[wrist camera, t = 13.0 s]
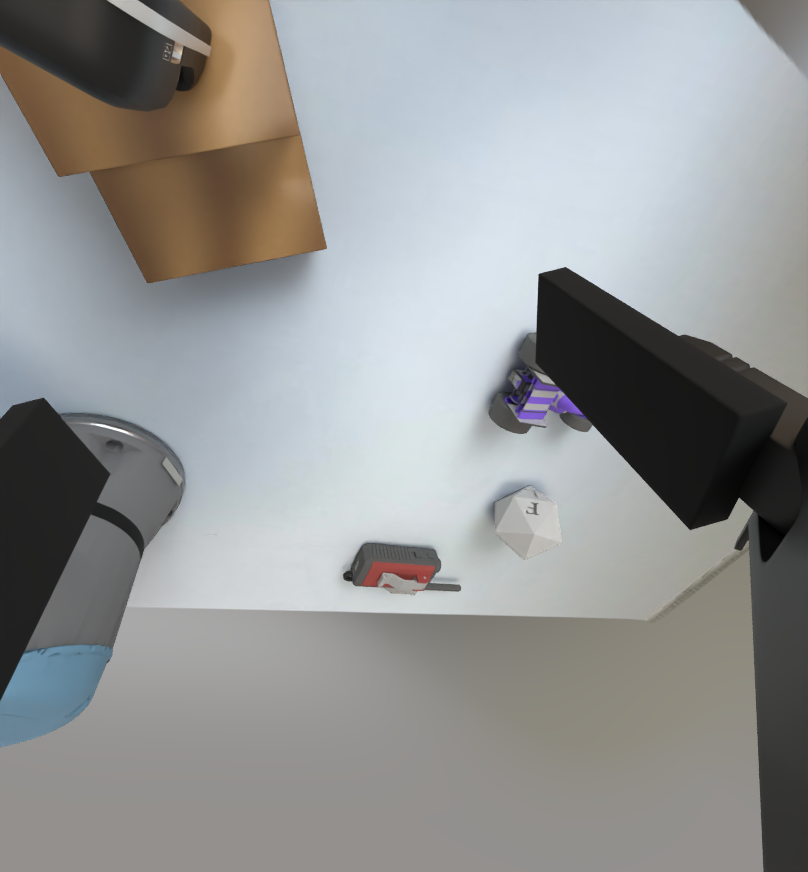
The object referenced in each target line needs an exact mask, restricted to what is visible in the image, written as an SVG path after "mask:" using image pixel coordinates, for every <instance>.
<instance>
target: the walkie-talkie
mask: <svg viewBox="0 0 808 872" xmlns="http://www.w3.org/2000/svg"><path fill="white" fill-rule="evenodd" d="M440 569H441V561H440V559H439V558H438V557H437V553H436V551H435V550H434V549H425V548H414V547H402V546H391V545H380V544H369V543H368V544H366V545H364V546H362V548H361V550H360V552H359V554H358V556H357V558H356V560H355V562H354V564H353V566H352V568H351V571H346V572H345V573H344V574H343V577H344V580H346V581H353V585H355V586H363V587H364V586H365V587H384V588H385V589H386V590H388V591H389V592H390V593H395V594H410V595H415V594H416V593H417V591H424V590H438V591H460V590H461V586H460V585H454V584H436V583H430V582H431V580H432V578H433V577H434V575H435V574H436V573H438V572H439V571H440Z"/></svg>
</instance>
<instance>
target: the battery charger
mask: <svg viewBox="0 0 808 872" xmlns="http://www.w3.org/2000/svg"><path fill="white" fill-rule="evenodd" d="M211 38H212V33H211V29H210V28H209V26H208V25H207V24H206V23H205V22H203V21H202V20H201V19H200V18H199V17H197V16H196V15H195V14H194V13H193V12H192V11H191V10H190V9H188V8H187V7H186V6H185V5H184V4H183V3H182V2H181V1H179V0H0V46H2V47H4V48H5V49H7V50H9V51H11V52H12V53H14V54H16V55H18V56H20V57H22V58H23V59H25V60H27V61H29V62H31V63H32V64H34V65H36V66H38V67H40V68H41V69H43V70H45V71H47V72H49V73H50V74H52V75H54V76H56V77H58V78H59V79H61V80H63V81H65V82H67V83H69V84H70V85H72V86H74V87H76V88H78V89H79V90H81V91H83V92H85V93H87V94H88V95H90V96H92V97H94V98H96V99H98V100H100V101H102V102H104V103H107V104H109V105H111V106H114V107H118V108H123V109H130V110H137V111H147V112H149V111H153V110H157V109H161V108H165V107H166V106H167V105H168V104H169V102H170V101H171V100H172V98H173V95H174V93H175V90H177V91H188V90H190V89H192V88H193V87H194V86H195V85H196V84H197V82H198V81H199V78H200V76H201V75H202V73H203V71H204V67H205V63H206V59H207V56H208V57H209V56H210V52H211V48H212V47H211V46H210V43H211Z"/></svg>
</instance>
